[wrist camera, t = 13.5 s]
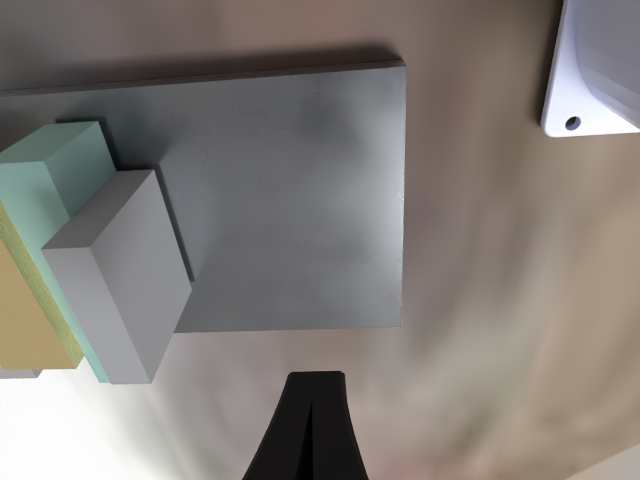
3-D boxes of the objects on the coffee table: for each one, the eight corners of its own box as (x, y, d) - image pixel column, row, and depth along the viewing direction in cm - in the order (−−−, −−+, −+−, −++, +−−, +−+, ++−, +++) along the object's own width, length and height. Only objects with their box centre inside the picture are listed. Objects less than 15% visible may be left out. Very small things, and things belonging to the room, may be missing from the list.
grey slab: (403, 59, 16) (426, 109, 11) (399, 312, 22) (412, 408, 18) (-117, 99, 17) (-279, 157, 13) (22, 323, 24) (-53, 413, 20)
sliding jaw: (137, 117, 16) (61, 184, 12) (202, 321, 22) (166, 417, 17) (45, 124, 16) (-63, 191, 12) (132, 323, 22) (79, 418, 18)
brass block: (64, 154, 17) (-14, 213, 14) (123, 292, 21) (75, 368, 17) (-9, 159, 18) (-104, 218, 14) (63, 294, 21) (3, 370, 18)
